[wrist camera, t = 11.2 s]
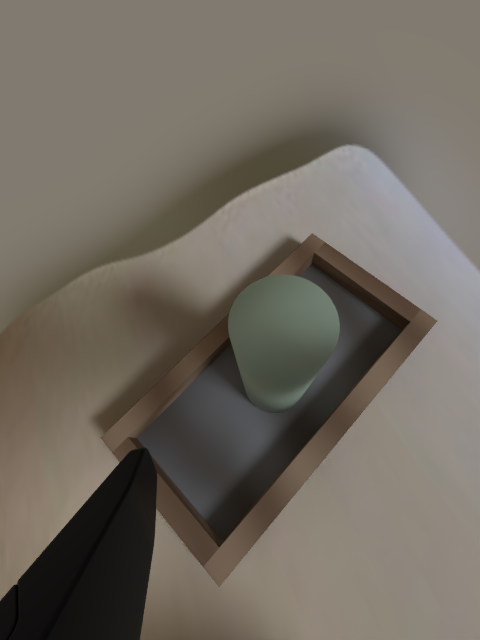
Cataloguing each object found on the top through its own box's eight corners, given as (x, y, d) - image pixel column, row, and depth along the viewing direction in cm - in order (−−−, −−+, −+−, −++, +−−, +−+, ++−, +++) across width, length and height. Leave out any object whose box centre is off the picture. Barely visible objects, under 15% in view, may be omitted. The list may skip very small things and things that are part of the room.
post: (295, 421, 21) (325, 393, 11) (236, 402, 22) (212, 358, 11) (310, 363, 22) (350, 289, 12) (254, 346, 23) (247, 263, 13)
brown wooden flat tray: (223, 574, 18) (219, 587, 17) (113, 438, 22) (100, 437, 20) (424, 330, 23) (437, 320, 21) (309, 247, 26) (312, 233, 24)
